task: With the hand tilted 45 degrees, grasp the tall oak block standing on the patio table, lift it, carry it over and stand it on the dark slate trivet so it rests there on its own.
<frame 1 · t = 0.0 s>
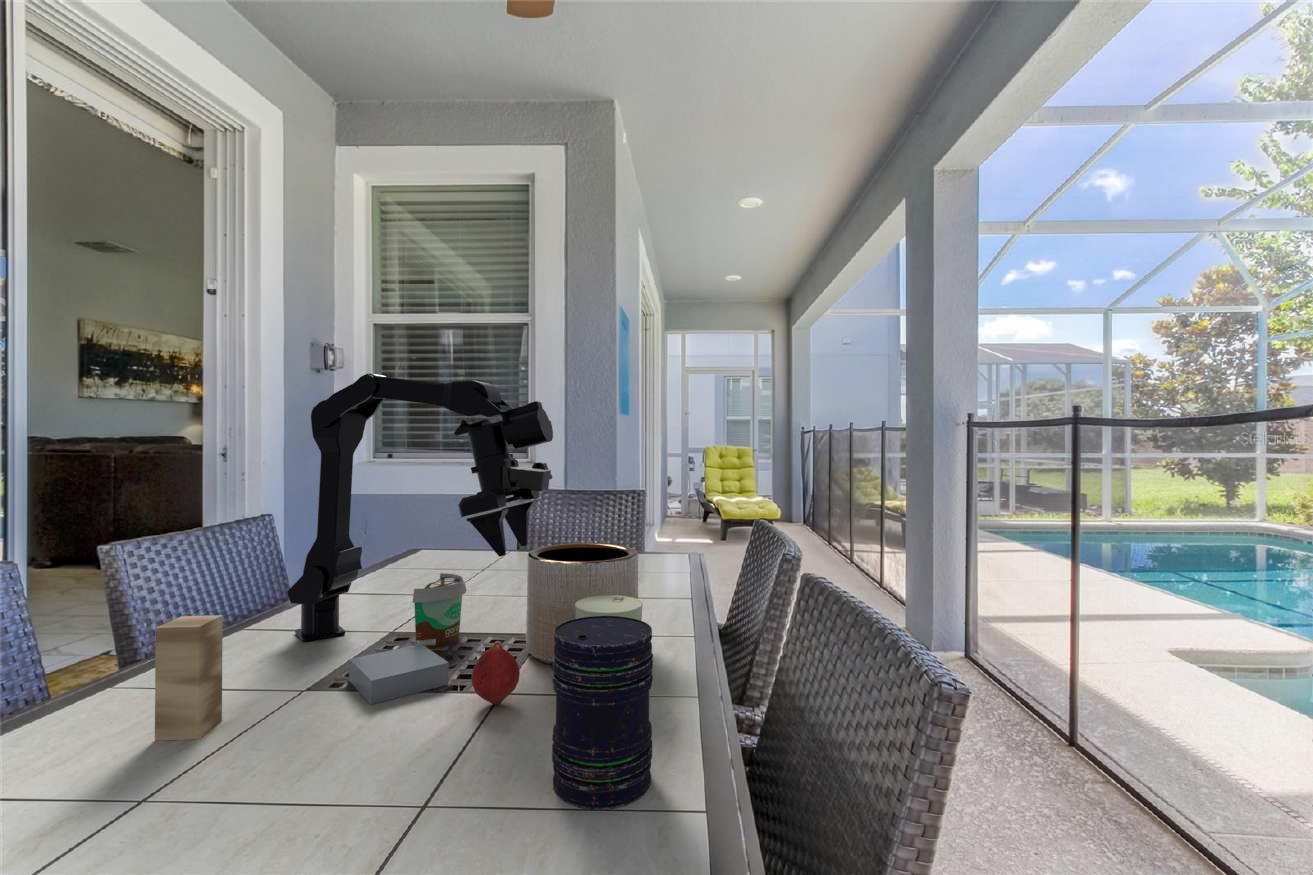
hand: (513, 550, 101), 15 cm above the table, tool pointing down, fingers open, 9 cm apart
can: (608, 690, 85), on the table
onion: (495, 706, 79), on the table
planter: (582, 651, 100), on the table
slate trivet: (398, 682, 86), on the table
oak block: (189, 730, 72), on the table
food container: (445, 642, 104), on the table
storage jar: (602, 783, 62), on the table
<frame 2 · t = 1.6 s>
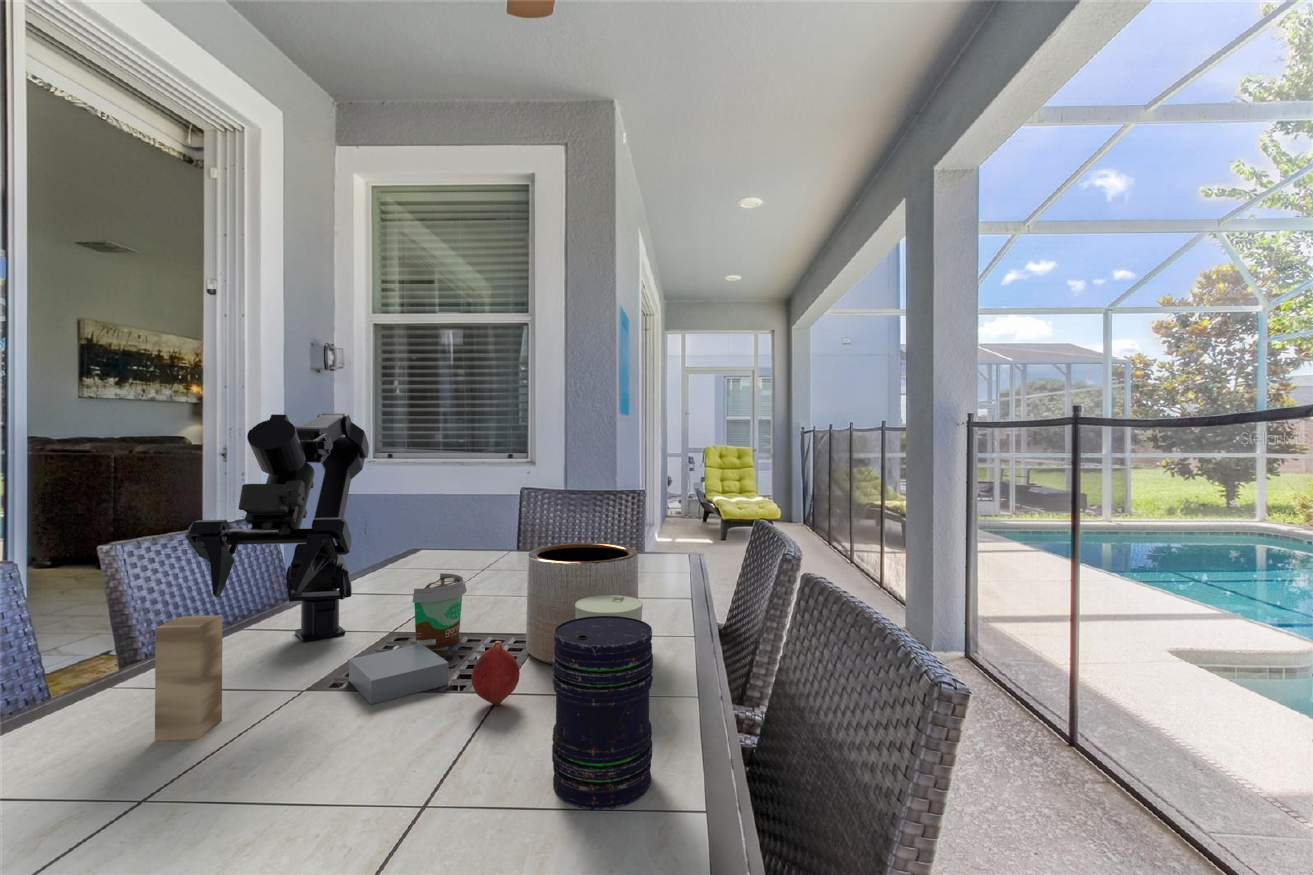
hand: (256, 594, 80), 14 cm above the table, tool tilted 40°, fingers open, 9 cm apart
nothing on the table moved.
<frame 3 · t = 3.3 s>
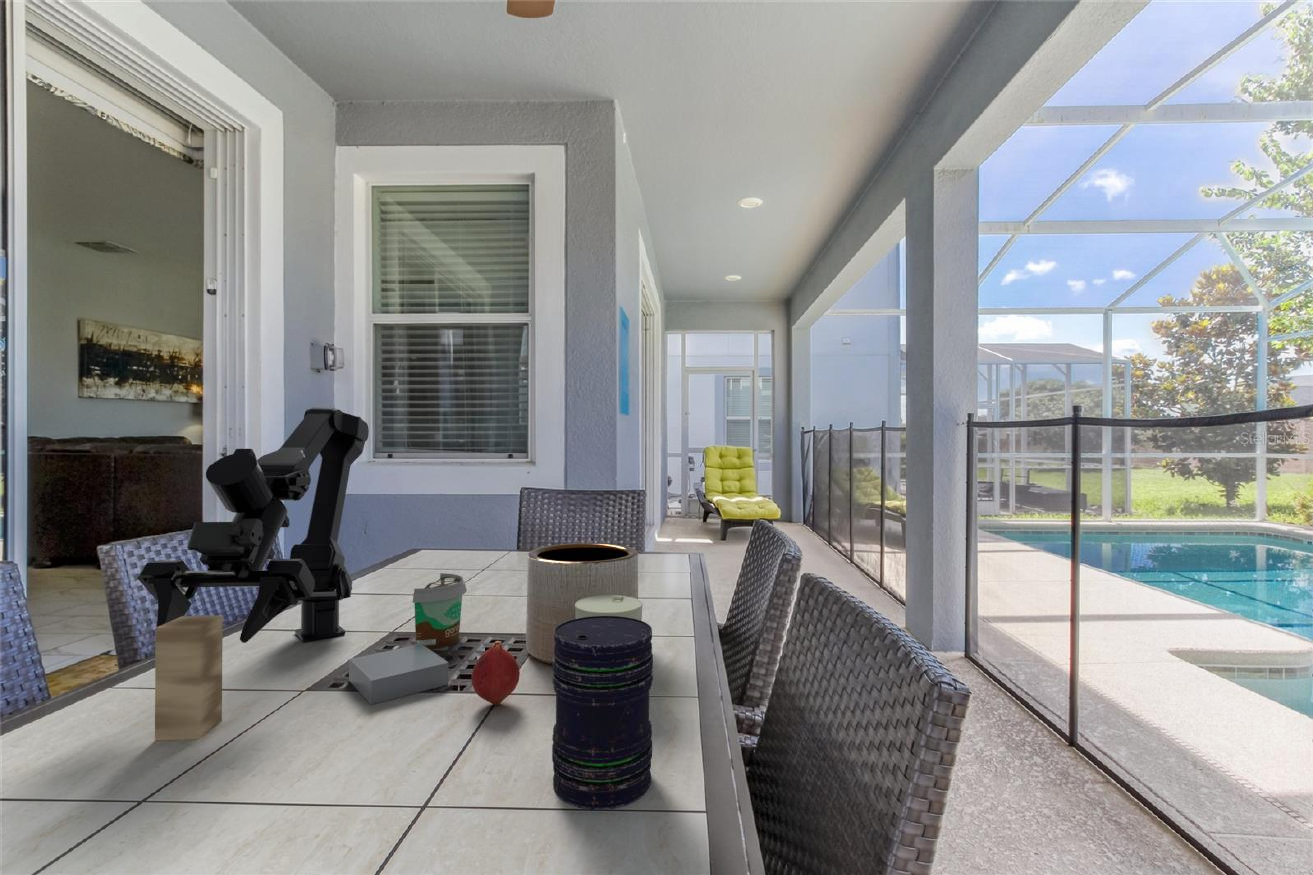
hand: (201, 642, 74), 9 cm above the table, tool tilted 45°, fingers open, 9 cm apart
nothing on the table moved.
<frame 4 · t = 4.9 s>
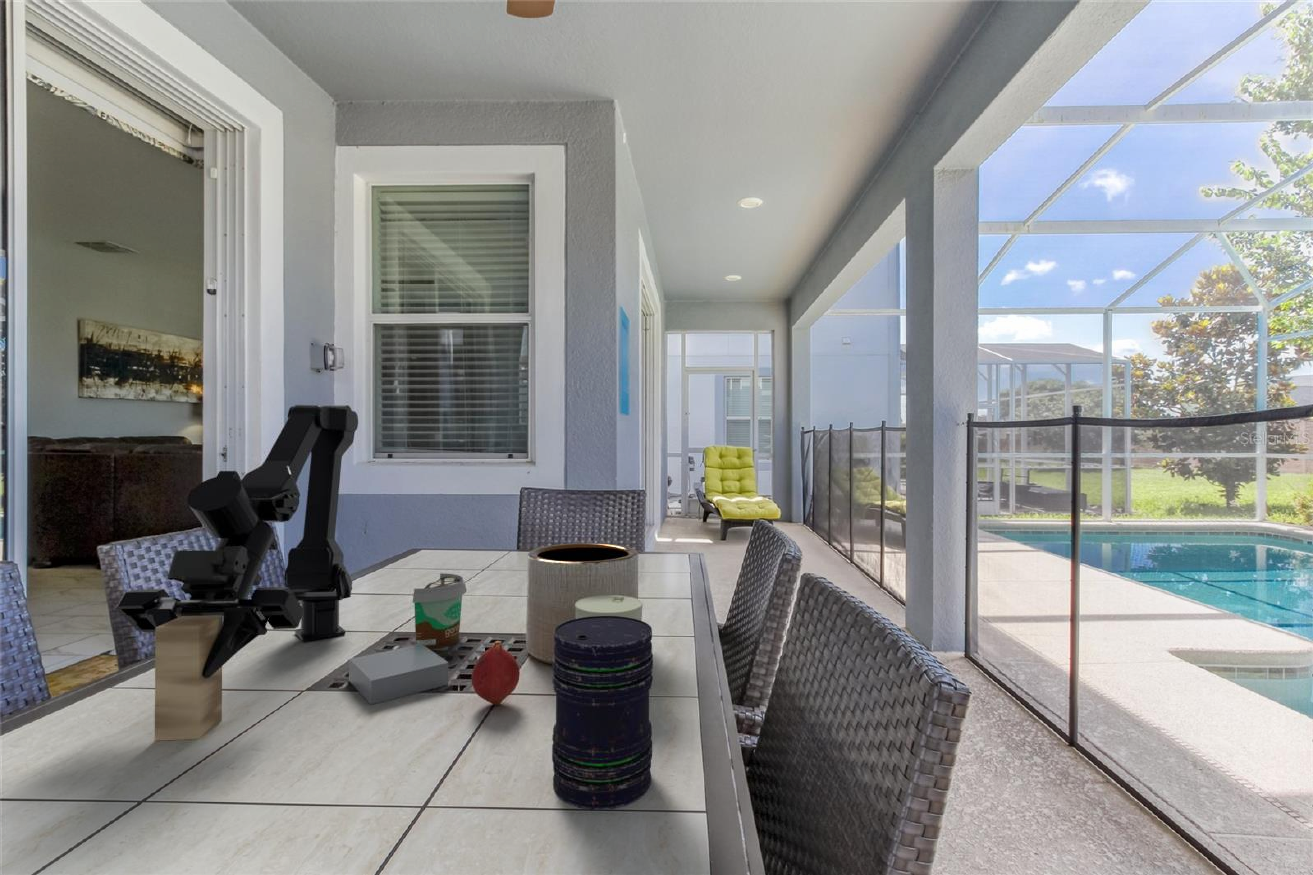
hand: (181, 677, 71), 7 cm above the table, tool tilted 45°, fingers closed on oak block, 4 cm apart
oak block: (189, 730, 72), on the table, touching gripper
everything else where it was.
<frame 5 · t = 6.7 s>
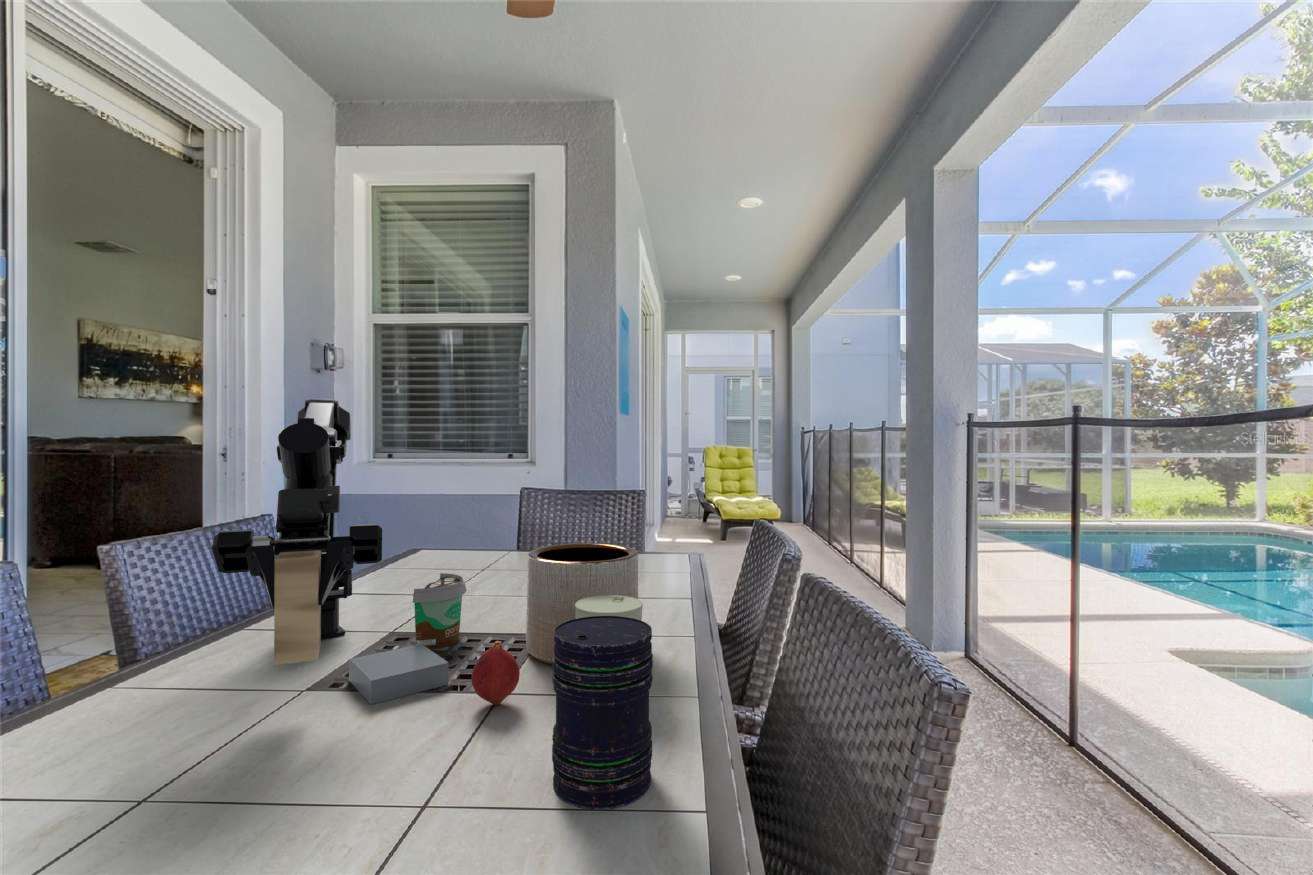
hand: (297, 605, 76), 13 cm above the table, tool tilted 45°, fingers closed on oak block, 4 cm apart
oak block: (298, 656, 77), point 7 cm above the table, touching gripper
everything else where it was.
when the fingers open (10 cm above the table, at t = 8.5 s): oak block stays where it is, resting on slate trivet.
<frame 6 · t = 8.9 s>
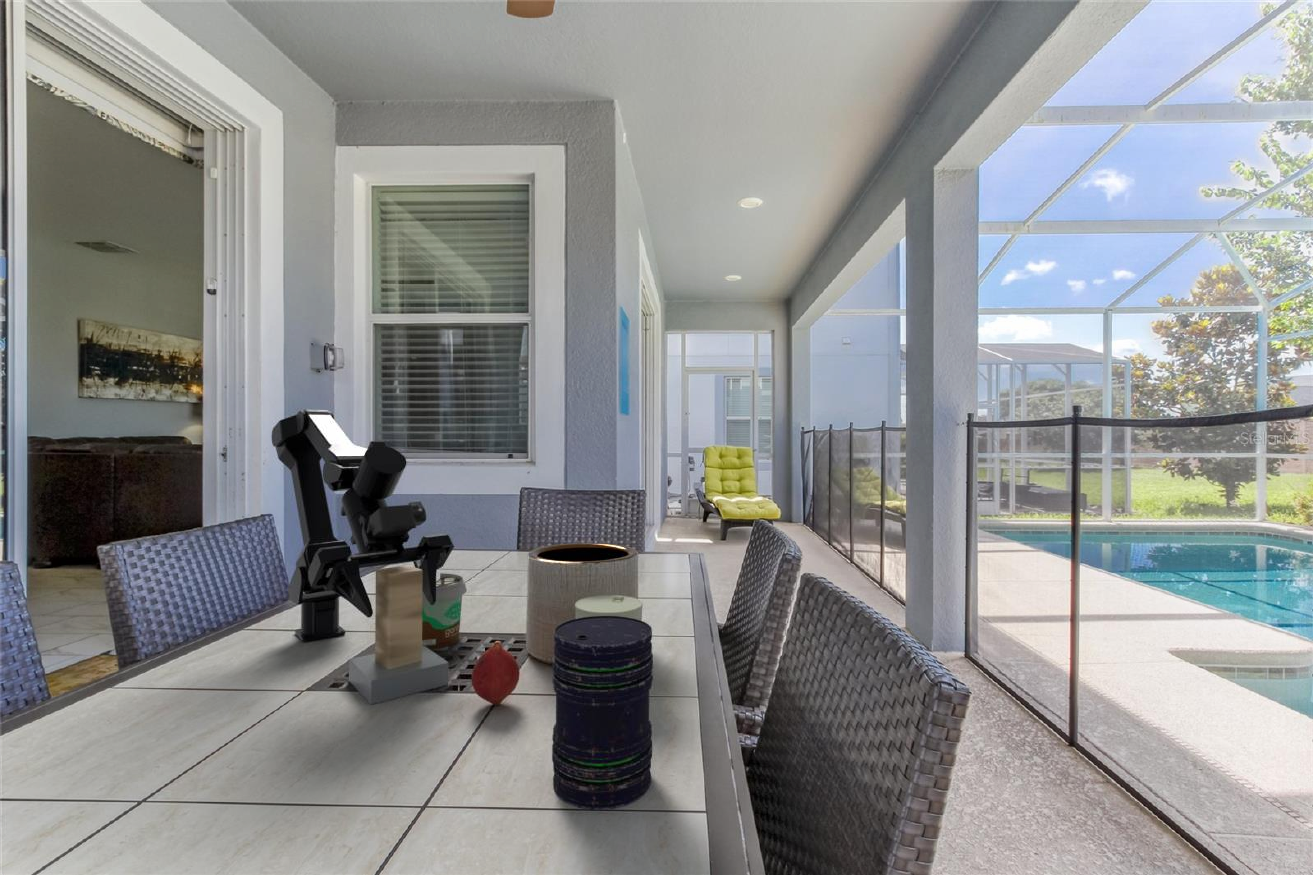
hand: (403, 609, 85), 10 cm above the table, tool tilted 45°, fingers open, 8 cm apart
oak block: (398, 660, 86), point 3 cm above the table, touching slate trivet
everything else where it was.
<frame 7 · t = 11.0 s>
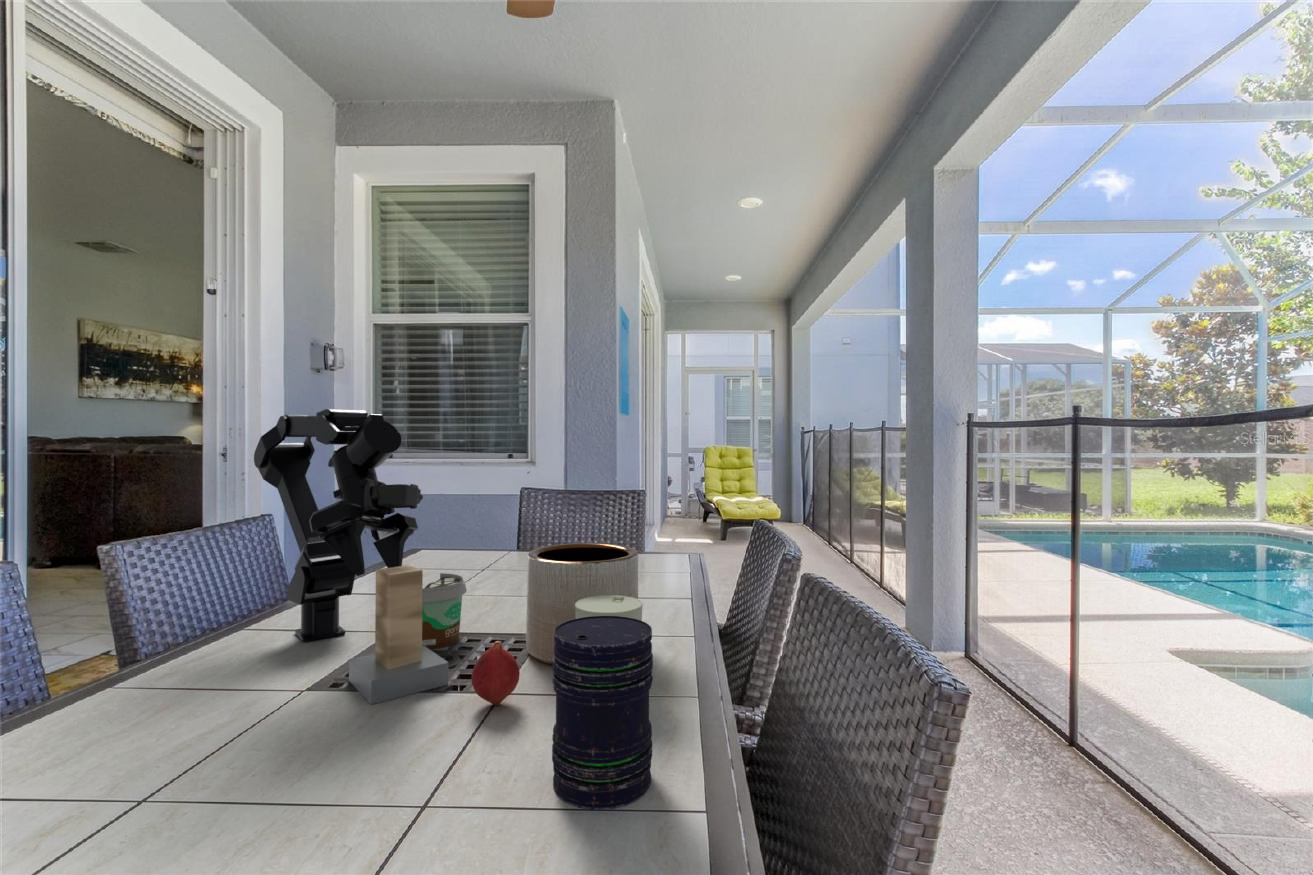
hand: (380, 575, 95), 13 cm above the table, tool tilted 25°, fingers open, 9 cm apart
nothing on the table moved.
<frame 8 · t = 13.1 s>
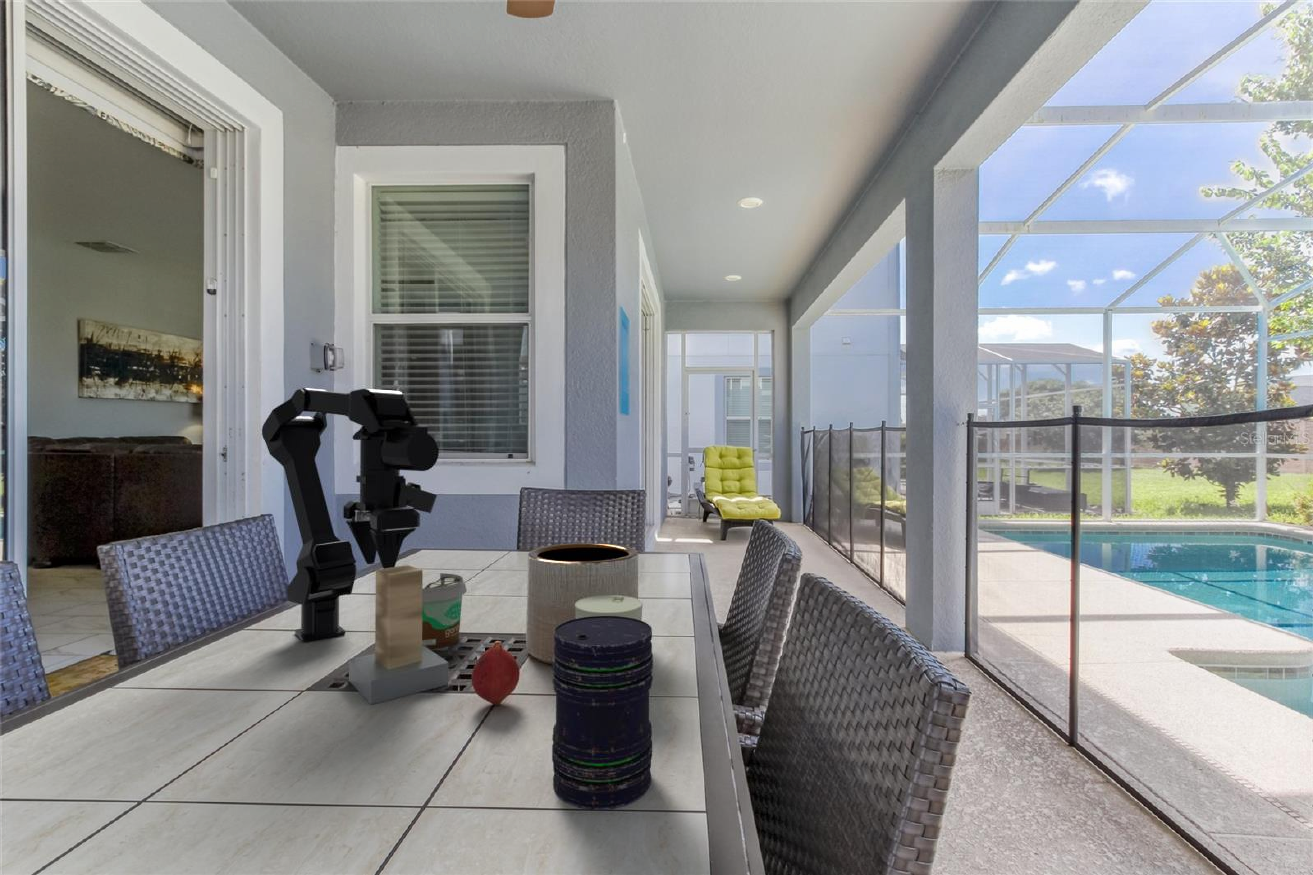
hand: (379, 568, 99), 13 cm above the table, tool pointing down, fingers open, 9 cm apart
nothing on the table moved.
at the end: oak block inside the target area on the slate trivet (0.0 cm from its centre), point 3.0 cm above the slate trivet's base; oak block tilted 0°; the gripper is holding nothing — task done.
